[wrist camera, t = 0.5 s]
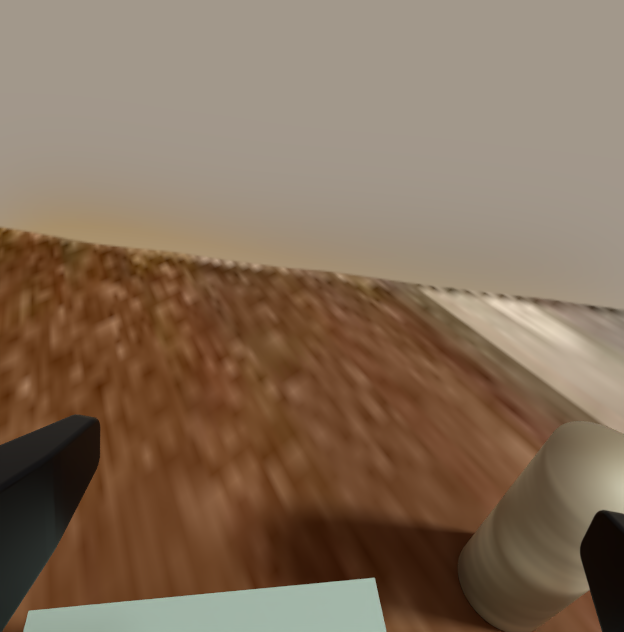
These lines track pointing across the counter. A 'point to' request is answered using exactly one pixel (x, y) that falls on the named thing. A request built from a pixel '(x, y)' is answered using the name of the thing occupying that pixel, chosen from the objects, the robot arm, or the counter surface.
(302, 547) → the counter surface
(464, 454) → the counter surface
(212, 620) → the socket block
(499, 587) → the beech peg
